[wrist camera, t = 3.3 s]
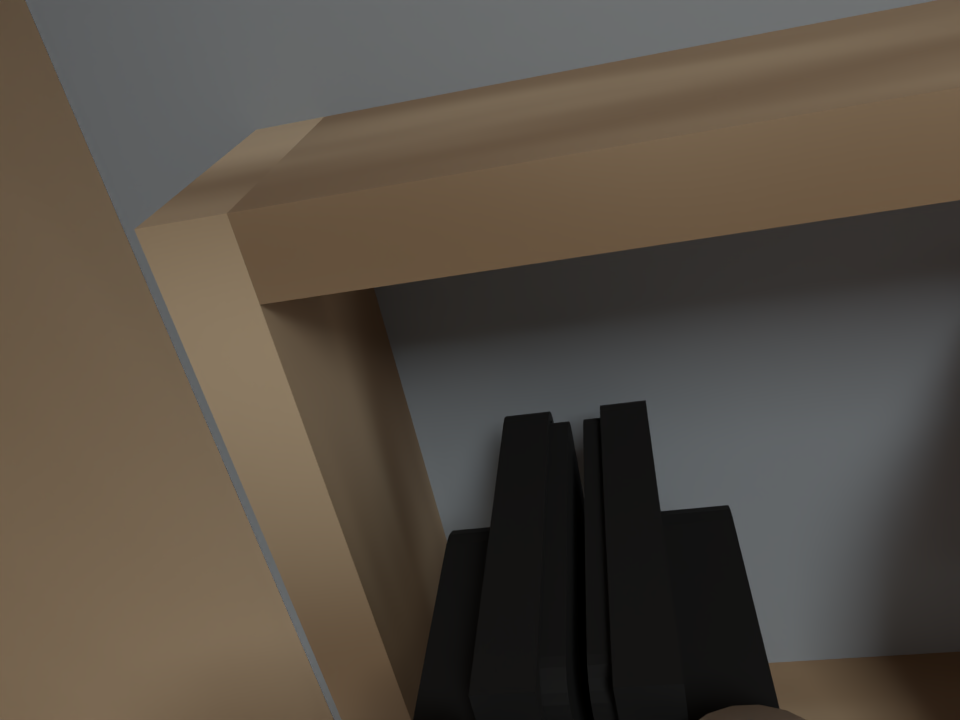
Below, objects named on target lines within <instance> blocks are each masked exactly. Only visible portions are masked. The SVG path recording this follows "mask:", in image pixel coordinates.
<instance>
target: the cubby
mask: <svg viewBox="0 0 960 720" xmlns="http://www.w3.org/2000/svg"><path fill="white" fill-rule="evenodd" d="M957 200H960V0H936V1H931V2H925V3H920V4H915V5H910V6H904V7H899V8H894V9H889V10H883V11H878V12H873V13H868V14H862V15H857V16H852V17H846V18H841V19H836V20H831V21H825V22H820V23H815V24H810V25H804V26H799V27H794V28H789V29H783V30H778V31H773V32H768V33H762V34H757V35H752V36H747V37H741V38H736V39H731V40H725V41H720V42H715V43H710V44H704V45H699V46H694V47H689V48H683V49H678V50H673V51H668V52H662V53H657V54H652V55H647V56H641V57H636V58H631V59H626V60H620V61H615V62H610V63H605V64H599V65H594V66H589V67H583V68H578V69H573V70H568V71H562V72H557V73H552V74H547V75H541V76H536V77H531V78H526V79H520V80H515V81H510V82H505V83H499V84H494V85H489V86H484V87H478V88H473V89H468V90H462V91H457V92H452V93H447V94H441V95H436V96H431V97H426V98H420V99H415V100H410V101H405V102H399V103H394V104H389V105H384V106H378V107H373V108H368V109H363V110H357V111H352V112H347V113H342V114H336V115H331V116H326V117H320V118H315V119H310V120H305V121H299V122H294V123H289V124H284V125H278V126H273V127H268V128H263V129H257V130H255V131H254V132H253V133H251V134H250V135H249V136H248V137H247V138H245V139H244V140H243V141H242V142H240V143H239V144H238V145H237V146H236V147H234V148H233V149H232V150H231V151H229V152H228V153H227V154H226V155H225V156H223V157H222V158H221V159H220V160H218V161H217V162H216V163H215V164H213V165H212V166H211V167H210V168H209V169H207V170H206V171H205V172H204V173H202V174H201V175H200V176H199V177H198V178H196V179H195V180H194V181H193V182H191V183H190V184H189V185H188V186H187V187H185V188H184V189H183V190H182V191H180V192H179V193H178V194H177V195H176V196H174V197H173V198H172V199H171V200H169V201H168V202H167V203H166V204H165V205H163V206H162V207H161V208H160V209H158V210H157V211H156V212H155V213H154V214H152V215H151V216H150V217H149V218H147V219H146V220H145V221H144V222H142V223H141V224H140V225H139V226H138V227H136V228H135V229H134V230H135V233H136V235H137V237H138V240H139V242H140V245H141V247H142V249H143V252H144V254H145V256H146V259H147V261H148V263H149V266H150V268H151V271H152V273H153V275H154V278H155V280H156V282H157V285H158V287H159V289H160V292H161V294H162V297H163V299H164V301H165V304H166V306H167V308H168V311H169V313H170V315H171V318H172V320H173V323H174V325H175V327H176V330H177V332H178V334H179V337H180V339H181V341H182V344H183V346H184V349H185V351H186V353H187V356H188V358H189V360H190V363H191V365H192V367H193V370H194V372H195V375H196V377H197V379H198V382H199V384H200V386H201V389H202V391H203V393H204V396H205V398H206V401H207V403H208V405H209V408H210V410H211V412H212V415H213V417H214V419H215V422H216V424H217V427H218V429H219V431H220V434H221V436H222V438H223V441H224V443H225V445H226V448H227V450H228V453H229V455H230V457H231V460H232V462H233V464H234V467H235V469H236V471H237V474H238V476H239V479H240V481H241V483H242V486H243V488H244V490H245V493H246V495H247V497H248V500H249V502H250V505H251V507H252V509H253V512H254V514H255V516H256V519H257V521H258V523H259V526H260V528H261V531H262V533H263V535H264V538H265V540H266V542H267V545H268V547H269V549H270V552H271V554H272V557H273V559H274V561H275V564H276V566H277V568H278V571H279V573H280V575H281V578H282V580H283V583H284V585H285V587H286V590H287V592H288V594H289V597H290V599H291V601H292V604H293V606H294V609H295V611H296V613H297V616H298V618H299V620H300V623H301V625H302V627H303V630H304V632H305V635H306V637H307V639H308V642H309V644H310V646H311V649H312V651H313V653H314V656H315V658H316V661H317V663H318V665H319V668H320V670H321V672H322V675H323V677H324V679H325V682H326V684H327V687H328V689H329V691H330V694H331V696H332V698H333V701H334V703H335V705H336V708H337V710H338V713H339V715H340V717H341V720H413V717H414V711H415V706H416V701H417V696H418V690H419V685H420V680H421V675H422V669H423V664H424V659H425V654H426V648H427V643H428V638H429V633H430V627H431V622H432V617H433V612H434V606H435V601H436V596H437V591H438V585H439V580H440V575H441V569H442V564H443V559H444V554H445V548H446V544H447V539H446V536H445V532H444V529H443V526H442V522H441V519H440V515H439V512H438V508H437V505H436V501H435V498H434V494H433V491H432V487H431V484H430V480H429V477H428V474H427V470H426V467H425V463H424V460H423V456H422V453H421V449H420V446H419V442H418V439H417V435H416V432H415V429H414V425H413V422H412V418H411V415H410V411H409V408H408V404H407V401H406V397H405V394H404V390H403V387H402V384H401V380H400V377H399V373H398V370H397V366H396V363H395V359H394V356H393V352H392V349H391V345H390V342H389V339H388V335H387V332H386V328H385V325H384V321H383V318H382V314H381V311H380V307H379V304H378V300H377V297H376V294H375V290H374V288H375V287H382V286H388V285H395V284H402V283H408V282H415V281H422V280H428V279H435V278H442V277H448V276H455V275H462V274H469V273H475V272H482V271H489V270H495V269H502V268H509V267H515V266H522V265H529V264H535V263H542V262H549V261H556V260H562V259H569V258H576V257H582V256H589V255H596V254H602V253H609V252H616V251H622V250H629V249H636V248H642V247H649V246H656V245H663V244H669V243H676V242H683V241H689V240H696V239H703V238H709V237H716V236H723V235H729V234H736V233H743V232H750V231H756V230H763V229H770V228H776V227H783V226H790V225H796V224H803V223H810V222H816V221H823V220H830V219H836V218H843V217H850V216H857V215H863V214H870V213H877V212H883V211H890V210H897V209H903V208H910V207H917V206H923V205H930V204H937V203H944V202H950V201H957ZM769 667H770V671H771V675H772V679H773V683H774V687H775V691H776V695H777V700H778V704H779V708H780V709H782V710H787V711H789V712H791V713H793V714H795V715H797V716H799V717H802V718H804V719H806V720H960V652H943V653H927V654H910V655H893V656H876V657H860V658H843V659H826V660H809V661H792V662H776V663H769Z"/></svg>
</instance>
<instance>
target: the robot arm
mask: <svg viewBox="0 0 960 720" xmlns="http://www.w3.org/2000/svg"><path fill="white" fill-rule="evenodd" d="M583 451H584V495H583V489H582V484H581V478H580V473H579V467H578V462H577V456H576V451H575V445H574V440H573V434H572V429H571V425H570V422H569V421H567V422H558V423H554V421H553V417H552V414H551V412H550V411H548V412H540V413H531V414H522V415H514V416H506V417H505V418H504V423H503V430H502V438H501V446H500V454H499V462H498V469H497V477H496V485H495V493H494V501H493V508H492V516H491V524H490V527H486V528H475V529H464V530H453V531H452V532H451V533H450V534H449V537H448V540H447V544H446V548H445V554H444V559H443V564H442V569H441V575H440V580H439V585H438V591H437V596H436V601H435V606H434V612H433V617H432V622H431V627H430V633H429V638H428V643H427V648H426V654H425V659H424V664H423V669H422V675H421V680H420V685H419V690H418V696H417V701H416V706H415V711H414V717H413V720H806V719H804V718H802V717H799V716H797V715H795V714H793V713H791V712H789V711H787V710H782V709H780V708H779V704H778V700H777V695H776V691H775V687H774V683H773V679H772V675H771V671H770V667H769V663H768V659H767V655H766V651H765V647H764V643H763V638H762V634H761V630H760V626H759V622H758V618H757V614H756V610H755V606H754V602H753V598H752V594H751V590H750V586H749V581H748V577H747V573H746V569H745V565H744V561H743V557H742V553H741V549H740V545H739V541H738V537H737V533H736V529H735V524H734V520H733V517H732V513H731V510H730V507H729V505H723V506H712V507H701V508H691V509H680V510H669V511H661V509H660V502H659V495H658V487H657V480H656V472H655V465H654V458H653V450H652V443H651V435H650V428H649V421H648V413H647V406H646V400H643V401H634V402H625V403H617V404H608V405H600V418H593V419H584V420H583Z"/></svg>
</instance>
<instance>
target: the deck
mask: <svg viewBox="0 0 960 720" xmlns="http://www.w3.org/2000/svg"><path fill="white" fill-rule="evenodd" d="M25 1H26V3H27V6H28V8H29V10H30V13H31V15H32V17H33V20H34V22H35V24H36V27H37V29H38V31H39V34H40V36H41V38H42V41H43V43H44V45H45V48H46V50H47V52H48V55H49V57H50V59H51V62H52V64H53V66H54V69H55V71H56V73H57V75H58V78H59V80H60V82H61V85H62V87H63V89H64V92H65V94H66V96H67V99H68V101H69V103H70V106H71V108H72V110H73V113H74V115H75V117H76V120H77V122H78V124H79V127H80V129H81V131H82V134H83V136H84V138H85V141H86V143H87V145H88V148H89V150H90V152H91V155H92V157H93V159H94V162H95V164H96V166H97V169H98V171H99V173H100V176H101V178H102V180H103V183H104V185H105V187H106V190H107V192H108V194H109V197H110V199H111V201H112V204H113V206H114V208H115V211H116V213H117V215H118V218H119V220H120V222H121V225H122V227H123V229H124V232H125V234H126V236H127V239H128V241H129V243H130V245H131V248H132V250H133V252H134V255H135V257H136V259H137V262H138V264H139V266H140V269H141V271H142V273H143V276H144V278H145V280H146V283H147V285H148V287H149V290H150V292H151V294H152V297H153V299H154V301H155V304H156V306H157V308H158V311H159V313H160V315H161V318H162V320H163V322H164V325H165V327H166V329H167V332H168V334H169V336H170V339H171V341H172V343H173V346H174V348H175V350H176V353H177V355H178V357H179V360H180V362H181V364H182V367H183V369H184V371H185V374H186V376H187V378H188V381H189V383H190V385H191V388H192V390H193V392H194V395H195V397H196V399H197V402H198V404H199V406H200V409H201V411H202V413H203V416H204V418H205V420H206V423H207V425H208V427H209V429H210V432H211V434H212V436H213V439H214V441H215V443H216V446H217V448H218V450H219V453H220V455H221V457H222V460H223V462H224V464H225V467H226V469H227V471H228V474H229V476H230V478H231V481H232V483H233V485H234V488H235V490H236V492H237V495H238V497H239V499H240V502H241V504H242V506H243V509H244V511H245V513H246V516H247V518H248V520H249V523H250V525H251V527H252V530H253V532H254V534H255V537H256V539H257V541H258V544H259V546H260V548H261V551H262V553H263V555H264V558H265V560H266V562H267V565H268V567H269V569H270V572H271V574H272V576H273V579H274V581H275V583H276V586H277V588H278V590H279V593H280V595H281V597H282V599H283V602H284V604H285V606H286V609H287V611H288V613H289V616H290V618H291V620H292V623H293V625H294V627H295V630H296V632H297V634H298V637H299V639H300V641H301V644H302V646H303V648H304V651H305V653H306V655H307V658H308V660H309V662H310V665H311V667H312V669H313V672H314V674H315V676H316V679H317V681H318V683H319V686H320V688H321V690H322V693H323V695H324V697H325V700H326V702H327V704H328V707H329V709H330V711H331V714H332V716H333V718H334V720H341V717H340V715H339V713H338V710H337V708H336V705H335V703H334V701H333V698H332V696H331V694H330V691H329V689H328V687H327V684H326V682H325V679H324V677H323V675H322V672H321V670H320V668H319V665H318V663H317V661H316V658H315V656H314V653H313V651H312V649H311V646H310V644H309V642H308V639H307V637H306V635H305V632H304V630H303V627H302V625H301V623H300V620H299V618H298V616H297V613H296V611H295V609H294V606H293V604H292V601H291V599H290V597H289V594H288V592H287V590H286V587H285V585H284V583H283V580H282V578H281V575H280V573H279V571H278V568H277V566H276V564H275V561H274V559H273V557H272V554H271V552H270V549H269V547H268V545H267V542H266V540H265V538H264V535H263V533H262V531H261V528H260V526H259V523H258V521H257V519H256V516H255V514H254V512H253V509H252V507H251V505H250V502H249V500H248V497H247V495H246V493H245V490H244V488H243V486H242V483H241V481H240V479H239V476H238V474H237V471H236V469H235V467H234V464H233V462H232V460H231V457H230V455H229V453H228V450H227V448H226V445H225V443H224V441H223V438H222V436H221V434H220V431H219V429H218V427H217V424H216V422H215V419H214V417H213V415H212V412H211V410H210V408H209V405H208V403H207V401H206V398H205V396H204V393H203V391H202V389H201V386H200V384H199V382H198V379H197V377H196V375H195V372H194V370H193V367H192V365H191V363H190V360H189V358H188V356H187V353H186V351H185V349H184V346H183V344H182V341H181V339H180V337H179V334H178V332H177V330H176V327H175V325H174V323H173V320H172V318H171V315H170V313H169V311H168V308H167V306H166V304H165V301H164V299H163V297H162V294H161V292H160V289H159V287H158V285H157V282H156V280H155V278H154V275H153V273H152V271H151V268H150V266H149V263H148V261H147V259H146V256H145V254H144V252H143V249H142V247H141V245H140V242H139V240H138V237H137V235H136V233H135V230H134V229H135V228H136V227H138V226H139V225H140V224H141V223H142V222H144V221H145V220H146V219H147V218H149V217H150V216H151V215H152V214H154V213H155V212H156V211H157V210H158V209H160V208H161V207H162V206H163V205H165V204H166V203H167V202H168V201H169V200H171V199H172V198H173V197H174V196H176V195H177V194H178V193H179V192H180V191H182V190H183V189H184V188H185V187H187V186H188V185H189V184H190V183H191V182H193V181H194V180H195V179H196V178H198V177H199V176H200V175H201V174H202V173H204V172H205V171H206V170H207V169H209V168H210V167H211V166H212V165H213V164H215V163H216V162H217V161H218V160H220V159H221V158H222V157H223V156H225V155H226V154H227V153H228V152H229V151H231V150H232V149H233V148H234V147H236V146H237V145H238V144H239V143H240V142H242V141H243V140H244V139H245V138H247V137H248V136H249V135H250V134H251V133H253V132H254V131H255V130H257V129H263V128H268V127H273V126H278V125H284V124H289V123H294V122H299V121H305V120H310V119H315V118H320V117H326V116H331V115H336V114H342V113H347V112H352V111H357V110H363V109H368V108H373V107H378V106H384V105H389V104H394V103H399V102H405V101H410V100H415V99H420V98H426V97H431V96H436V95H441V94H447V93H452V92H457V91H462V90H468V89H473V88H478V87H484V86H489V85H494V84H499V83H505V82H510V81H515V80H520V79H526V78H531V77H536V76H541V75H547V74H552V73H557V72H562V71H568V70H573V69H578V68H583V67H589V66H594V65H599V64H605V63H610V62H615V61H620V60H626V59H631V58H636V57H641V56H647V55H652V54H657V53H662V52H668V51H673V50H678V49H683V48H689V47H694V46H699V45H704V44H710V43H715V42H720V41H725V40H731V39H736V38H741V37H747V36H752V35H757V34H762V33H768V32H773V31H778V30H783V29H789V28H794V27H799V26H804V25H810V24H815V23H820V22H825V21H831V20H836V19H841V18H846V17H852V16H857V15H862V14H868V13H873V12H878V11H883V10H889V9H894V8H899V7H904V6H910V5H915V4H920V3H925V2H931V1H936V0H25ZM374 290H375V294H376V297H377V300H378V304H379V307H380V311H381V314H382V318H383V321H384V325H385V328H386V332H387V335H388V339H389V342H390V345H391V349H392V352H393V356H394V359H395V363H396V366H397V370H398V373H399V377H400V380H401V384H402V387H403V390H404V394H405V397H406V401H407V404H408V408H409V411H410V415H411V418H412V422H413V425H414V429H415V432H416V435H417V439H418V442H419V446H420V449H421V453H422V456H423V460H424V463H425V467H426V470H427V474H428V477H429V480H430V484H431V487H432V491H433V494H434V498H435V501H436V505H437V508H438V512H439V515H440V519H441V522H442V526H443V529H444V532H445V536H446V539H447V540H448V537H449V534H450V533H451V532H452V531H453V530H464V529H475V528H486V527H490V524H491V516H492V508H493V501H494V493H495V485H496V477H497V469H498V462H499V454H500V446H501V438H502V430H503V423H504V418H505V417H506V416H514V415H522V414H531V413H540V412H548V411H550V412H551V414H552V417H553V421H554V423H558V422H567V421H569V422H570V425H571V429H572V434H573V440H574V445H575V451H576V456H577V462H578V467H579V473H580V478H581V484H582V489H583V495H584V451H583V420H584V419H593V418H600V405H608V404H617V403H625V402H634V401H643V400H646V406H647V413H648V421H649V428H650V435H651V443H652V450H653V458H654V465H655V472H656V480H657V487H658V495H659V502H660V509H661V511H669V510H680V509H691V508H701V507H712V506H723V505H729V507H730V510H731V513H732V517H733V520H734V524H735V529H736V533H737V537H738V541H739V545H740V549H741V553H742V557H743V561H744V565H745V569H746V573H747V577H748V581H749V586H750V590H751V594H752V598H753V602H754V606H755V610H756V614H757V618H758V622H759V626H760V630H761V634H762V638H763V643H764V647H765V651H766V655H767V659H768V663H776V662H792V661H809V660H826V659H843V658H860V657H876V656H893V655H910V654H927V653H943V652H960V200H957V201H950V202H944V203H937V204H930V205H923V206H917V207H910V208H903V209H897V210H890V211H883V212H877V213H870V214H863V215H857V216H850V217H843V218H836V219H830V220H823V221H816V222H810V223H803V224H796V225H790V226H783V227H776V228H770V229H763V230H756V231H750V232H743V233H736V234H729V235H723V236H716V237H709V238H703V239H696V240H689V241H683V242H676V243H669V244H663V245H656V246H649V247H642V248H636V249H629V250H622V251H616V252H609V253H602V254H596V255H589V256H582V257H576V258H569V259H562V260H556V261H549V262H542V263H535V264H529V265H522V266H515V267H509V268H502V269H495V270H489V271H482V272H475V273H469V274H462V275H455V276H448V277H442V278H435V279H428V280H422V281H415V282H408V283H402V284H395V285H388V286H382V287H375V288H374Z"/></svg>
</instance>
